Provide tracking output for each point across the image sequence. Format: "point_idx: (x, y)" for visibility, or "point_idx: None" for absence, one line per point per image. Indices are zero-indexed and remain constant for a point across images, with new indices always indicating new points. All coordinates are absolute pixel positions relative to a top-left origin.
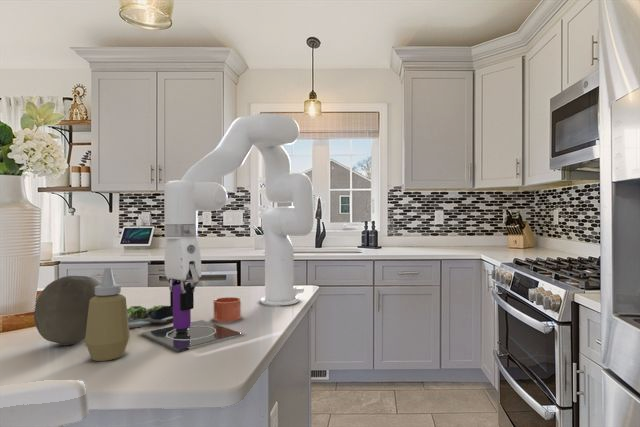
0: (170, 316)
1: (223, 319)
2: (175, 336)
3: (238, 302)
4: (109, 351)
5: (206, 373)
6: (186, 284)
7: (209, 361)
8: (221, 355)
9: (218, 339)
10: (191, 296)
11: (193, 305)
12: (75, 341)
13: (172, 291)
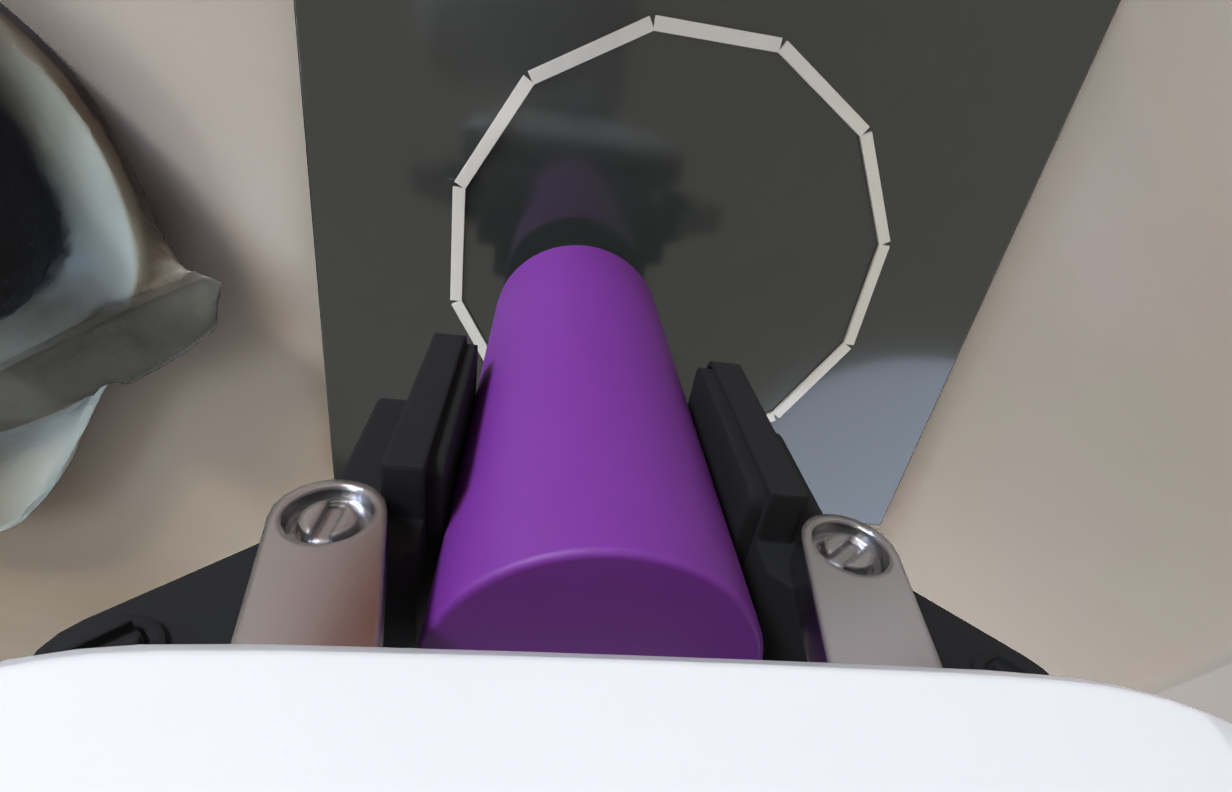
0: (34, 139)
1: None
2: None
3: None
4: None
5: (1190, 576)
6: (610, 602)
7: (1130, 496)
8: (1156, 411)
9: (1002, 250)
10: (817, 512)
11: (747, 379)
12: None
13: (421, 627)
